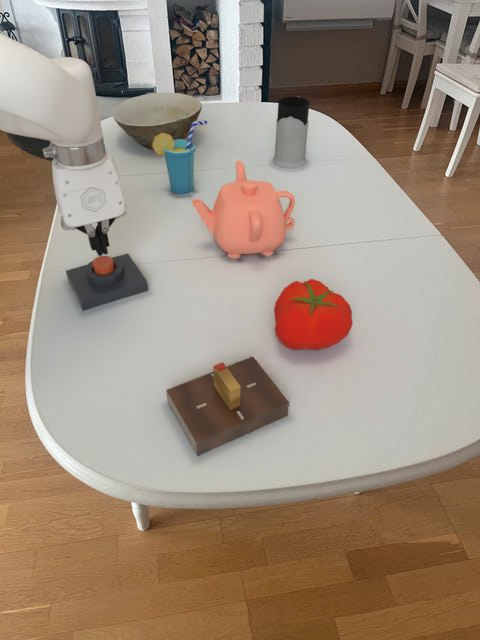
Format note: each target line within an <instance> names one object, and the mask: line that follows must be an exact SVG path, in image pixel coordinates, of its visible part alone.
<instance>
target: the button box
mask: <svg viewBox="0 0 480 640" xmlns="http://www.w3.org/2000/svg"><path fill="white" fill-rule="evenodd" d="M110 257H111V258H112V259H113V263H114V271H112V272H111V273H108V274H105V275H98V274H96V273H95V272H94V268H93V264H92V262H93V260H91V261H90V262H89V263H87V264H84V265H81V266H77V267H73V268H69V269H67V270H65V274H66V278H67V281H68V283H69V285H70V288H71V289H72V292H73V293H74V295H75V298H76V299H77V301H78V304H79V306H80V307H81V310H82V311H87V310H90V309H93V308H96V307H99V306H103V305H106V304H109V303H112V302H113V303H114V302H116V301H119V300H122V299H126V298H129V297H132V296H134V295H135V296H136V295H138V294H141V293H144V292H147V291H149V288H148V281H147V279H146V278H145V276H144V275H143V273H142V272H141V270H140V269H139V267H138V265H137V264H136V263H135V262H134V260H133V258H132V257H131V255H130V254H129V253H123V254H120V255H117V256H113V257H112V256H110Z"/></svg>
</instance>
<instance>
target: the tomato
mask: <svg viewBox="0 0 480 640" xmlns="http://www.w3.org/2000/svg"><path fill="white" fill-rule="evenodd" d="M273 314H274V320H275V321H274V322H275V327H274V333H275V337H276V338H277V340H278V342H280V343H281V344H282V345H283V346H284V347H286V348H287V349H291V350H293V351H298V350H299V351H300V350H310V351H311V350H312V351H319V350H323V349H328V348H331V347H333V346H335V345H337V344H338V343H340V342H341V341H343V340H344V339H345V338H346V337H347V336H348V335H349V333H350V331H351V329H352V327H353V317H352V316H353V311H352V308H351V306H350V303H348V301H347V300H346V298H345V297H343V295H341V294H339V293H336V292H335V291H334V290H331V289H330V288H329V287H328V286H326V285H325V284H324V283H323V282H321V281H320V280H317V279H313V278H311V279H308V280H304V281H303V282H301V281H298V280H296V281H293V282H291V283H289V284H288V285H286V286H285V287H284V288H283V290H282V291H281V292H280V294H279V296H278V297H277V299H276V301H275V304H274V308H273Z"/></svg>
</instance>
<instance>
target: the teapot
mask: <svg viewBox="0 0 480 640" xmlns="http://www.w3.org/2000/svg"><path fill="white" fill-rule="evenodd" d="M235 169H236V177H235V182H228V183H226V184H223V185H222V186H220V187H221V188H220V189H219V191H218V194H217V196H216V199H215V201H214V204H213V209H212V210H211V209H210V208H209V206H208V205H207V204H206V203H205V202H203V200H202V199H201V198H194V199H191V203H192V206H193V208H194V210H196V212H197V214H198V215H199V217H200V218H201V220H202V221H203V222H204V224H205V226H206V227H207V229H208V230H209V232H210V233H211V234H213V238H214V240H215V242H216V243H217V245H218V246H219V248H220V249H221V250H222V251H223V252H226V253H227V257H228V258H230V259H239V258H241V256H242V254H243V255H251V254H261V255H262V256H266V257H268V256H269V257H270V256H272V255H274V253H275V252H274V250H277V249H278V248H280V247H281V245H282V244H283V243H284V241H285V240H286V237H287V230H291V229H293V227H294V225H295V219H294V218H293V217H291V214H292V212H293V211H294V207H295V205H296V199H295V196H294V195H293V193H291V192H290V191H287V190H277V191H276V189H275V187H274V186H273V184H272V183H270V182H268V181H263V180H251V179H250V180H248V179H247V175H246V170H245V164H244V163H243V161H241V160H237V161H236V162H235ZM280 198H287V199H289V204H288V205H287V208H286V210H285V212H284V210H283V206H282V204H281V201H280Z"/></svg>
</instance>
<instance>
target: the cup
mask: <svg viewBox="0 0 480 640" xmlns="http://www.w3.org/2000/svg"><path fill="white" fill-rule="evenodd" d="M207 124H208V121H207V120H197V121H194V122H193V123H192V125H191V128H190V132H189V134H188V135H187V139H177V140H173V138H172V136H171V135H169V134H165V133H161V134H159V135H158V136H156V137H154V140H153V143H152V147H153V149H152V150H153V151H154V154H155V155H157V156H162V157H164V158H165V164H166V169H167V175H168V180H169V185H170V186H169V187H170V190H171V192H172V193H173V194H177V195H186V194H190V193H191V192H193V191H194V178H195V177H194V176H195V153H196V151H197V147H196V145H195V143H194V142H193V141H192V139H193V135H194V131H195V127H196V126H202V125H207Z"/></svg>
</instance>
